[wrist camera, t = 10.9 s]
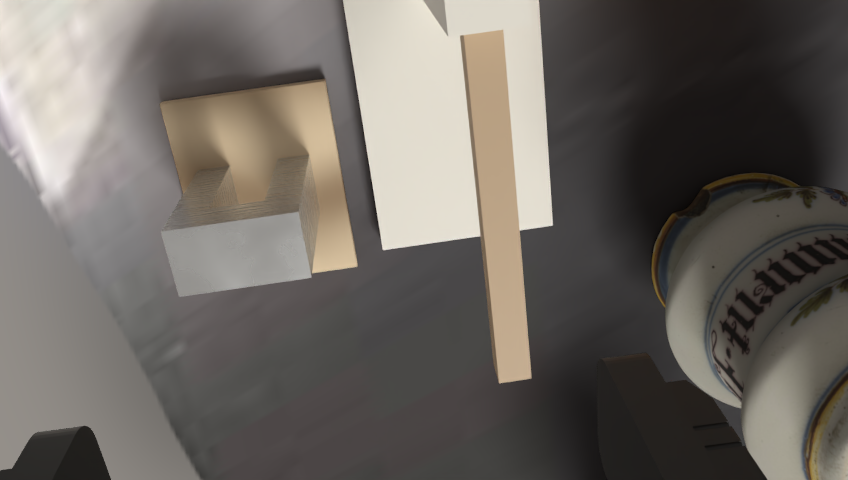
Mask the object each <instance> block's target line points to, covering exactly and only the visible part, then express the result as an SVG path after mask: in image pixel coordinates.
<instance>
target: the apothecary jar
mask: <svg viewBox="0 0 848 480" xmlns="http://www.w3.org/2000/svg"><path fill="white" fill-rule="evenodd" d="M651 269H652V280H653V285H654V288H655V291H656V294H657V296H658V298H659V300H660V301H661V303H662V304H663V306H664V307H665V322H666V331H667V336H668V340H669V344H670V347H671V349H672V352H673V354H674V356H675V358H676V360H677V362H678V364H679V365H680V367H681V368H682V370H683V371H684V372H685V373H686V375H687V376H688V377H689V378H690V379H691V380H692V381H693V382H694V383H695V384H696V385H697V386H698V387H700V388H701V389H702V390H703V391H705V392H706V393H708V394H709V395H711V396H712V397H714V398H716V399H718V400H720V401H722V402H724V403H726V404H729V405H732V406H735V407H738V408H741V422H742V430H743V435H744V439H745V443H746V446H747V449H748V451H749V453H750V454H751V456H752V457H753V459H754V460H755V462H756V463H757V465H758V466H759V468H760V469H761V471H762V472H763V474H764V475H765V476H766V478H767V479H768V480H848V193H847V192H844V191H840V190H836V189H832V188H826V187H817V186H799V185H797V184H796V183H794V182H792V181H790V180H788V179H785V178H783V177H780V176H776V175H773V174H765V173H745V174H738V175H733V176H729V177H725V178H723V179H720V180H717V181H715V182H712V183H710V184H708V185H706V186H704V187H703V188H702V189H701V190H700V192H699V194H698V195H697V196H696V198H695V199H694V201H693V202H692V204H691V205H690V206H689V207H688V208H686V209H685V210H682V211H677V212H674V213H673V214H672V215H671V216H670V217H669V219H668V220H667V221H666V223H665V224H664V226H663V228H662V230H661V232H660V234H659V236H658V238H657V240H656V242H655V245H654V249H653V256H652V265H651Z"/></svg>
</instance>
